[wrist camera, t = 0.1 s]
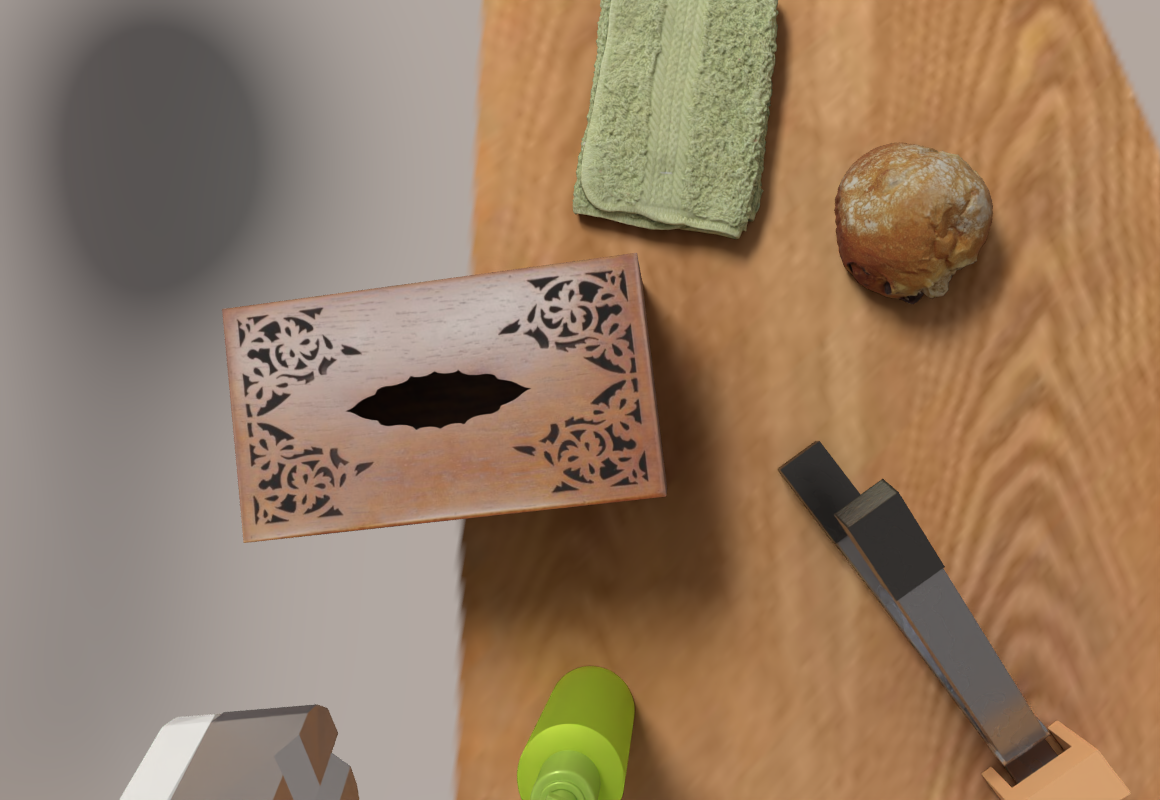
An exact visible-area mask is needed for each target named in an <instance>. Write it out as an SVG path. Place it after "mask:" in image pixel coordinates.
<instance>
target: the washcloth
mask: <svg viewBox="0 0 1160 800" xmlns="http://www.w3.org/2000/svg"><path fill="white" fill-rule="evenodd" d="M777 4H778V0H601V3H600V7H601V9H602V11H601V13H600V14H601V16H600V17H599V22H597V24H598V31H597V33H598V39H597V40H596V42H597V46H598V49H597V53H598V55H597V60H596V62H595V65H594V67H595V71H594V74H595V75H594V78H593V86H592V89H591V99H590V107H589V113H588V115H587V121H588V125H587V129H586V131H585V134H584V138H582V142H581V145H582V147H581V152H580V153H579V156H578V166H577V171H576V174H577V176H576V177H577V182H576V183H575V186H574V189H575V190H574V199H573V212H574V213H575V214H584V215H590V216H594V217H601V218H605V219H610V220H613V221H617V222H620V223H625V224H627V225H634V226H637V227H643V228H647V229H652V230H654V229H658V230H671V229H677V228H678V229H682V230H689V231H697V232H703V233H709V234H717V235H721V236H725V237H729V238H734V239H738V238H740V236H741V233H742V231H743V230H744V231H746V229H747V222H748V221H751V222H752V221H754V219H755V215H756V212H757V211H758V209H759V207H760V198H761V194H762V192H763V190H762V189H761V186H762V184H761V177H762V176H761V174H762V172H763V170H764V167H763V164H764V160H763V159H764V153H765V151H766V149H765V144H766V141H765V136H766V135H767V122H768V117H769V114H770V112H769V108H768V107H769V106H770V105H771V104H770V102H771V101H770V97H771V96H772V82H771V77H772V74H773V72H774V71H773V68H774V65H775V54H774V52H776V50H777V49H776V48H777V45H776V37H777V27H778V25H777V22H776V17H777V15H778V11H777V10H776V7H777Z"/></svg>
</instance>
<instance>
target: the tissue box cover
mask: <svg viewBox="0 0 1160 800" xmlns="http://www.w3.org/2000/svg"><path fill="white" fill-rule="evenodd" d="M222 311H223V323H224V334H225V345H226V355H227V366H228V377H229V387H230V398H231V410H232V421H233V432H234V442H235V453H236V464H237V474H238V486H239V495H240V507H241V518H242V529H243V540H244V543H246V542H257V541H265V540H275V539H283V538H293V537H302V536H311V535H320V534H329V533H338V532H347V531H355V530H365V529H375V528H384V527H393V526H402V525H410V524H420V523H430V522H439V521H448V520H457V519H466V518H475V517H484V516H493V515H502V514H511V513H521V512H530V511H539V510H548V509H557V508H566V507H575V506H584V505H593V504H602V503H612V502H621V501H630V500H639V499H648V498H657V497H666V493H667V483H666V475H665V467H664V458H663V450H662V442H661V433H660V425H659V417H658V408H657V400H656V392H655V383H654V375H653V367H652V358H651V350H650V342H649V333H648V325H647V317H646V309H645V300H644V292H643V284H642V278H641V273H640V267H639V262H638V257H637V253H632V254H625V255H618V256H610V257H603V258H596V259H588V260H581V261H573V262H566V263H559V264H551V265H544V266H537V267H529V268H522V269H515V270H507V271H500V272H492V273H485V274H478V275H470V276H464V277H456V278H448V279H441V280H434V281H426V282H419V283H411V284H404V285H397V286H390V287H382V288H375V289H368V290H361V291H352V292H346V293H338V294H330V295H323V296H316V297H309V298H301V299H294V300H286V301H279V302H271V303H264V304H257V305H249V306H242V307H235V308H227V309H222Z"/></svg>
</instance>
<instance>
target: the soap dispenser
mask: <svg viewBox="0 0 1160 800" xmlns="http://www.w3.org/2000/svg"><path fill="white" fill-rule="evenodd" d="M634 715H635V707H634V701H633V697H632V694H631V692H630V690H629V688H628V687H627V685H626V684H625V683H624V681H623V680H622V679H621V678H620V677H619V676H617V675H616V674H615V673H613V672H611V671H609V670H607V669H605V668H601V667H596V666H585V667H580V668H577V669H574V670H572V671H570V672H569V673H567V674H566V675H565V676H563V677H562V678H561V679H560V680H559V682H558V683H557V684H556V686H555V688H554V690H553V692H552V694H551V696H550V698H549V700H548V702H547V704H546V706H545V708H544V710H543V712H542V714H541V716H540V718H539V720H538V722H537V724H536V726H535V728H534V730H533V732H532V734H531V736H530V738H529V740H528V742H527V745H526V747H525V749H524V751H523V753H522V755H521V757H520V761H519V764H518V770H517V783H518V789H519V793H520V796H521V799H522V800H621V798H622V795H623V791H624V784H625V777H626V771H627V764H628V757H629V750H630V743H631V736H632V729H633V722H634Z"/></svg>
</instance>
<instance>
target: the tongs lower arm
mask: <svg viewBox="0 0 1160 800" xmlns="http://www.w3.org/2000/svg"><path fill="white" fill-rule="evenodd" d="M778 471H779V472H780V473H781V475H782V476H783V477H784V479H785V480H786V481H787V483H788V484H789V485H790V486H791V488H792V489H793V490H794V492H795V493H796V494H797V496H798V497H799V498H800V500H801V501H802V502H803V504H804V505H805V506H806V508H807V509H808V510H809V512H810V513H811V514H812V516H813V517H814V518H815V520H816V521H817V522H818V524H819V525H820V526H821V527H822V529H823V530H824V531H825V533H826V534H827V535H828V537H829V538H830V539H831V541H832V542H834V543H835V544H836V545H837V546H838V547H839V549H840V550H841V551H842V553H843V554H844V555H845V557H846V558H847V559H848V561H849V562H850V563H851V565H852V566H853V567H854V569H855V570H856V571H857V573H858V574H859V575H860V577H861V578H862V579H863V581H864V582H865V583H866V585H867V586H868V587H869V588H870V590H871V591H872V592H873V594H874V595H875V596H876V598H877V599H878V600H879V602H880V603H881V604H882V606H883V607H884V608H885V610H886V611H887V612H888V614H889V615H890V616H891V618H892V619H893V620H894V622H895V623H896V624H897V625H898V627H899V628H900V629H901V631H902V632H903V633H904V635H905V636H906V637H907V639H908V640H909V641H910V643H911V644H912V645H913V647H914V648H915V649H916V651H917V652H918V653H919V655H920V656H921V657H922V659H923V660H924V661H925V663H926V664H927V665H928V666H929V668H930V669H931V670H932V672H933V673H934V674H935V676H936V677H937V678H938V680H939V681H940V682H941V684H942V685H943V686H944V688H945V689H946V690H947V692H948V693H949V694H950V696H951V697H952V698H953V700H954V701H955V702H956V703H957V705H958V706H959V707H960V709H961V710H962V711H963V713H964V714H965V715H966V717H967V718H968V719H969V721H970V722H971V723H972V725H973V726H974V727H975V729H976V730H977V731H978V733H979V734H980V735H981V737H982V738H983V739H984V741H985V742H986V743H987V744H989V741H988V740H987V738H986V737H985V735H984V734H983V732H982V731H981V729H980V728H979V726H978V725H977V723H976V722H975V720H974V719H973V717H972V716H971V714H970V713H969V711H968V710H967V708H966V707H965V705H964V704H963V702H962V701H961V699H960V698H959V696H958V695H957V694H956V692H955V691H954V689H953V688H952V686H951V685H950V683H949V682H948V680H947V679H946V677H945V676H944V674H943V673H942V671H941V670H940V668H939V667H938V665H937V664H936V662H935V661H934V659H933V658H932V656H931V655H930V653H929V652H928V650H927V649H926V647H925V646H924V644H923V643H922V641H921V640H920V638H919V637H918V635H917V634H916V632H915V631H914V629H913V628H912V626H911V625H910V623H909V622H908V620H907V619H906V617H905V616H904V615H903V613H902V612H901V610H900V609H899V607H898V606H897V604H896V603H895V601H894V600H893V598H892V597H891V595H890V594H889V593H888V592H887V591H886V590H885V588H884V587H883V586H882V585H881V584H880V582H879V581H878V579H877V578H876V576H875V575H874V573H873V572H872V570H871V569H870V567H869V566H868V564H867V563H866V561H865V560H864V558H863V557H862V555H861V554H860V552H859V551H858V549H857V548H856V546H855V545H854V543H853V542H852V541H851V539H850V538H849V536H848V535H847V533H846V532H845V530H844V529H843V527H842V526H841V524H840V523H839V521H838V520H837V518H836V517H835V515H834V514H835V513H836V512H838V511H839V510H840V509H842V508H843V507H845V506H846V505H847V504H849V503H850V502H851V501H853V500H854V499H856V498H857V497H858V496H860V493H859V492H858V491H857V489H856V488H855V487H854V486H853V484H852V483H851V482H850V480H849V479H848V478H847V476H846V475H845V474H844V472H843V471H842V470H841V469H840V467H839V466H838V465H837V463H836V462H835V461H834V459H833V458H832V457H831V455H830V454H829V453H828V452H827V450H826V449H825V448H824V446H823V445H822V444H821V442H820V441H815V442H814V443H812V444H811V445H810V446H808V447H807V448H805V449H804V450H803V451H801V452H800V453H799V454H797V455H796V456H794V457H793V458H792V459H790V460H789V461H788V462H786V463H785V464H784V465H782V466H781V467H779V468H778ZM1057 756H1058V755H1057V754H1056V753H1055V751H1054V750H1053V749H1052V747H1051V746H1050V745H1049V743H1048V742H1047V741H1046V740H1045V739H1044V740H1042V741H1041V742H1039V743H1038V744H1036V745H1035V746H1034V747H1032V748H1031V749H1029V750H1028V751H1026V752H1025V753H1023V754H1022V755H1021V756H1019V757H1018V758H1016V759H1015V760H1013V761H1012V762H1011V763H1009V764H1008V765H1006V766H1004V767H1005V768H1006V770H1007V771H1008V772H1009V774H1010V775H1011V776H1012V778H1013V779H1014V780H1015V781H1016V783H1017V784H1018V783H1020V782H1021V781H1023V780H1024V779H1026V778H1027V777H1028V776H1030V775H1031V774H1033V773H1034V772H1036V771H1037V770H1039V769H1040V768H1041V767H1043V766H1044V765H1046V764H1047V763H1049V762H1050V761H1052V760H1053V759H1054V758H1056V757H1057Z"/></svg>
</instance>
